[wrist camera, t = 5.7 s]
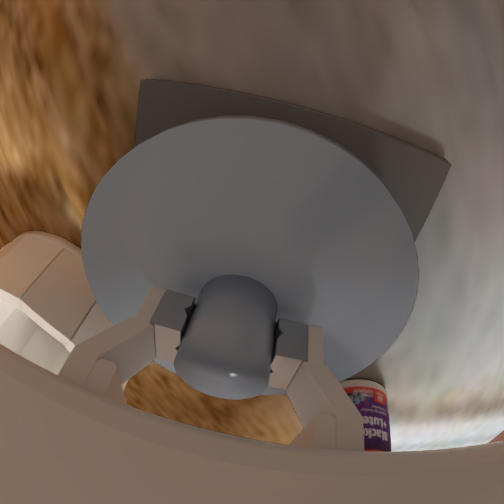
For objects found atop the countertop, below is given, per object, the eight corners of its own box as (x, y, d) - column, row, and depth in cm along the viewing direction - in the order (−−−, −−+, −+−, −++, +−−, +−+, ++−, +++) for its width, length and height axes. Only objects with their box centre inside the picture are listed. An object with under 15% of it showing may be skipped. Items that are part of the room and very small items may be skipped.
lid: (471, 187, 8) (533, 255, 5) (335, 398, 15) (334, 461, 12) (86, 93, 8) (-2, 124, 5) (109, 342, 15) (80, 398, 12)
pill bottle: (393, 374, 18) (404, 512, 10) (378, 409, 21) (381, 521, 13) (314, 377, 19) (304, 519, 11) (312, 412, 22) (302, 526, 14)
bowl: (138, 260, 15) (93, 331, 11) (147, 376, 23) (126, 428, 18) (-7, 213, 15) (-55, 256, 11) (32, 327, 23) (5, 367, 18)
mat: (445, 159, 10) (451, 164, 10) (341, 350, 17) (341, 358, 17) (147, 78, 10) (140, 80, 10) (140, 300, 17) (136, 307, 17)
